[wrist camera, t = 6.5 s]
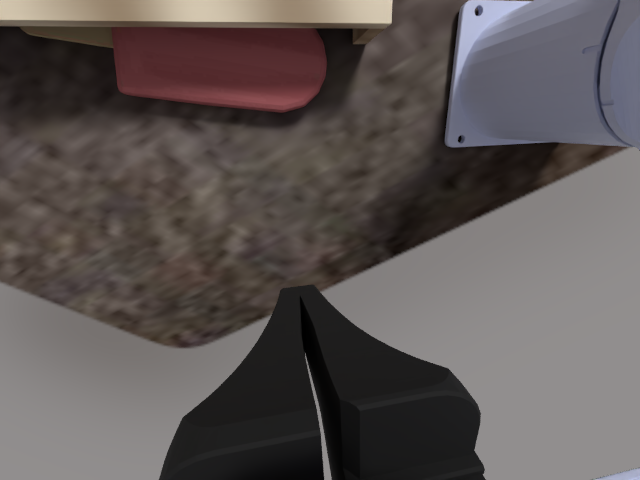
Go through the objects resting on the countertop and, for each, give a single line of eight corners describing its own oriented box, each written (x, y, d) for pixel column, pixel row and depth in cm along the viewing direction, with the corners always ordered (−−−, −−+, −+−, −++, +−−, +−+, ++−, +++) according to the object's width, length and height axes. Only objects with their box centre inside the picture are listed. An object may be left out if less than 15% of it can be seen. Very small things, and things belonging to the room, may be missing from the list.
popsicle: (-11, -63, 12) (333, 10, 15) (17, -43, 14) (328, 20, 17) (18, 79, 14) (321, 120, 17) (41, 84, 16) (317, 120, 19)
